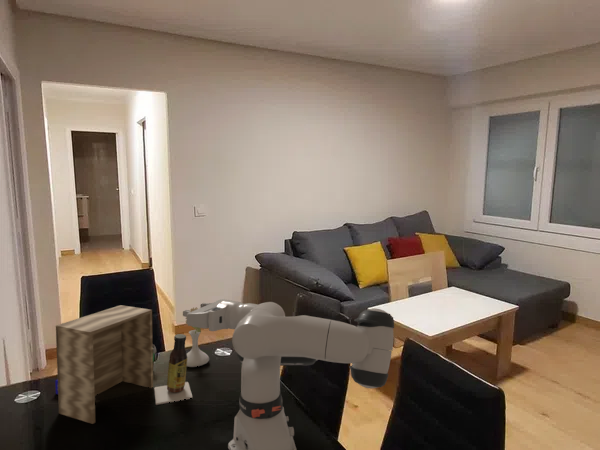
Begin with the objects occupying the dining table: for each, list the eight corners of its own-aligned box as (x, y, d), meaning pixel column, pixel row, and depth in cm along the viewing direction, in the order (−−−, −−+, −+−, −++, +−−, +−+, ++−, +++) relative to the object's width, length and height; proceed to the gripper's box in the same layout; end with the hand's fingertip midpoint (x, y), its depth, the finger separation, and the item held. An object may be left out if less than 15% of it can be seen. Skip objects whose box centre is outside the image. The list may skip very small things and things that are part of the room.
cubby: (153, 387, 148) (151, 309, 146) (92, 423, 124) (89, 332, 122) (122, 379, 154) (120, 305, 151) (58, 413, 130) (55, 325, 127)
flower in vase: (179, 360, 171) (178, 303, 169) (206, 356, 176) (205, 300, 174) (184, 373, 159) (183, 311, 157) (212, 368, 164) (212, 308, 162)
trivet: (192, 398, 140) (192, 396, 140) (155, 404, 135) (155, 403, 135) (188, 383, 151) (188, 381, 151) (154, 388, 146) (154, 387, 146)
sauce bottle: (177, 395, 141) (181, 341, 138) (162, 390, 143) (166, 337, 140) (188, 386, 147) (192, 335, 144) (174, 382, 149) (177, 331, 146)
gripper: (244, 297, 140) (211, 293, 146) (209, 312, 122) (173, 307, 127) (244, 315, 141) (211, 310, 146) (209, 333, 122) (173, 327, 127)
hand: (193, 309), depth 136 cm, fingers open, 8 cm apart
